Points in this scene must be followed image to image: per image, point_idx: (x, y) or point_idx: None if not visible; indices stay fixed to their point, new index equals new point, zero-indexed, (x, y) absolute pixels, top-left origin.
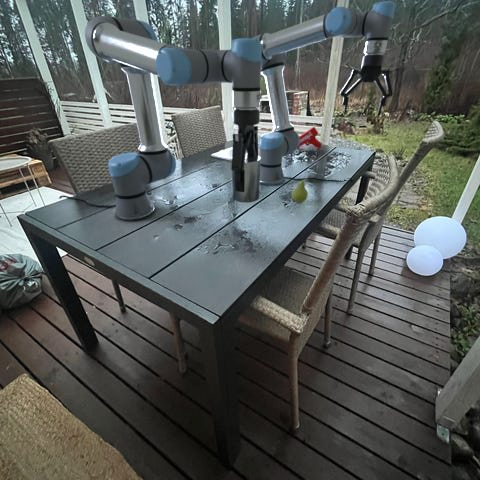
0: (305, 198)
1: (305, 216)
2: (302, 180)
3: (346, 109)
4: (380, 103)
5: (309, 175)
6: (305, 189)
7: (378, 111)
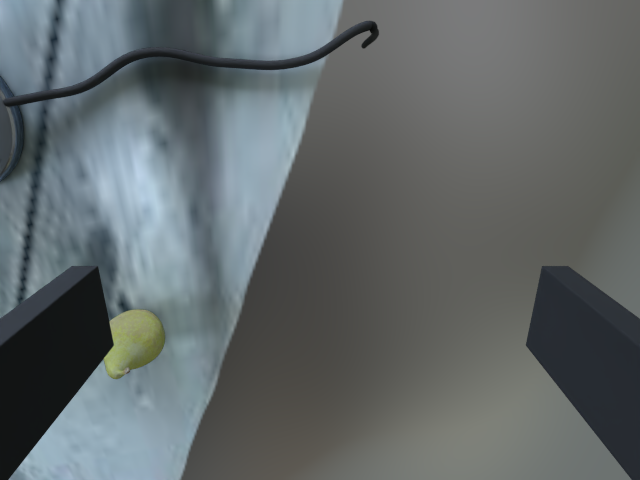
0: (161, 350)
1: (185, 406)
2: (111, 376)
3: (77, 387)
4: (628, 454)
5: (126, 373)
6: (143, 355)
7: (552, 360)
